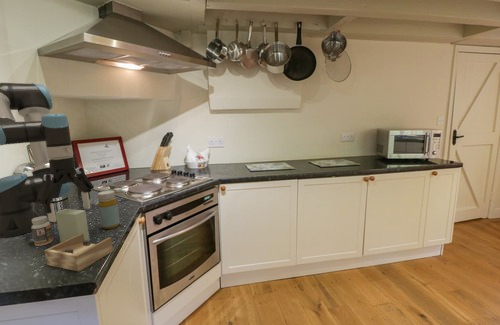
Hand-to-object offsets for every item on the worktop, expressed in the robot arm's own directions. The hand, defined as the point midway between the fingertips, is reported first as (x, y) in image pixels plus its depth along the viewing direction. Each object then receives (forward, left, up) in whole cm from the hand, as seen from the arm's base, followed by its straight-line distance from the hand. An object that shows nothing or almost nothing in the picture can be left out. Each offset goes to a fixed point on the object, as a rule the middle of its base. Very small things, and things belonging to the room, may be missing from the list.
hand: (71, 214), depth 101 cm
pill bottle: (-11, -4, -11) cm, 16 cm away
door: (0, 0, -11) cm, 11 cm away
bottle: (+2, +15, -11) cm, 19 cm away
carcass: (+13, -8, -11) cm, 19 cm away
